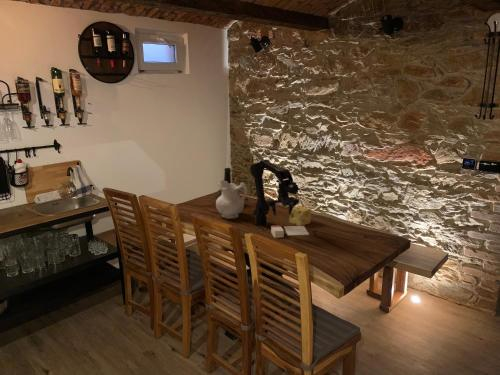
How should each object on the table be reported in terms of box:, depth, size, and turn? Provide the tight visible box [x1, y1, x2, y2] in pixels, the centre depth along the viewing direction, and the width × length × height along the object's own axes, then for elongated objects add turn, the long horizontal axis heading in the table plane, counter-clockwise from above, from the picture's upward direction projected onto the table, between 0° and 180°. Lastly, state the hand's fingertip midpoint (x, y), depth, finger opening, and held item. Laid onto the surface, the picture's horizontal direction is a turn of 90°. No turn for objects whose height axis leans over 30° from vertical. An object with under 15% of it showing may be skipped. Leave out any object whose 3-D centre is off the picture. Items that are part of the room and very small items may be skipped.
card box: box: [270, 224, 285, 239], centre depth 237 cm, size 8×6×5 cm, turn 11°
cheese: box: [288, 205, 312, 226], centre depth 257 cm, size 10×11×10 cm
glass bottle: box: [215, 167, 240, 201], centre depth 291 cm, size 18×18×28 cm
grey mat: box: [283, 225, 310, 237], centre depth 243 cm, size 13×14×1 cm
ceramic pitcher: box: [215, 179, 248, 220], centre depth 267 cm, size 22×20×25 cm
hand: (282, 215), depth 237 cm, fingers open, 9 cm apart
